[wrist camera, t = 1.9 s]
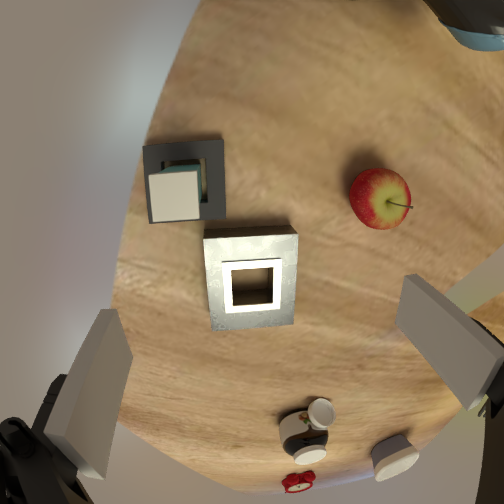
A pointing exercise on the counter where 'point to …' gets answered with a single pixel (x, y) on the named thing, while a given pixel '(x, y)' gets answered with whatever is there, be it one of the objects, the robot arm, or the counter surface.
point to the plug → (176, 193)
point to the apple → (380, 198)
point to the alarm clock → (298, 482)
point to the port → (243, 257)
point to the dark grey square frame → (183, 151)
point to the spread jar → (307, 431)
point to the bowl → (393, 457)
